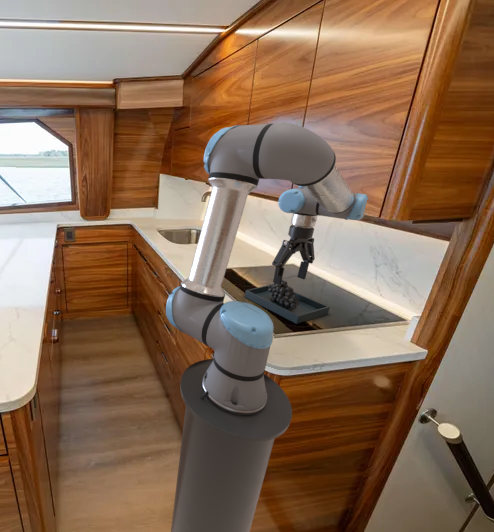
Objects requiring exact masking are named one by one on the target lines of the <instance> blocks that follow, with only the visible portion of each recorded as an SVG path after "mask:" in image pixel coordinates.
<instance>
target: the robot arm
mask: <svg viewBox="0 0 494 532" xmlns="http://www.w3.org/2000/svg"><path fill="white" fill-rule="evenodd" d="M203 153H204V154H203V163H204V164H203V168H204V170H205V172H206V174H207V175H208V179H207V182H208V183H209V185H210V187H211V191H210V195H209V199H208V203H207V206H206V209H205V214H204V218H203V222H202V226H201V229H200V233H199V237H198V241H197V243H196V248H195V251H194V255H193V260H192V264H191V267H190V271H189V274H188V278H186V279H184V280H182V281H181V283H180V286H179V285H178V286H176V287H175V288H174V289H173V290H172V291H171V293H170V294H169V295H168V297H167V300H166V305H165V314H166V319H167V320H168V322H169V323H170V324H171V326H172V327H174V328H176V329H177V330H178V331H179V332H181V333H183V334H186V335H187V336H189V337H191V338H192V339H195V340H196V341H197V342H199V343H201V344H204V345H205V346H207V347H208V348H210V349H212V350H214V351H213V352H214V353H213V358H212V359H213V361H212V363H211V365H210V366H209V368H208V369H207V371H206V373H205V375H204V377H203V382H202V389H203V392H204V394H203V395H202V396H201V398H202V399H203V398H204V397H207V399H208V400H209V401H210V402H211V403H212V404H213V405H215V406H216V407H218V408H219V409H221V410H223V411H225V412H227V413H230V414H233V415H238V416H253V415H256V414H259V413H260V412H262V411H263V410H264V408H265V406H266V402H267V391H266V388H265V381H264V375H265V370H266V367H267V362H268V359H269V355H270V350H271V346H272V344H273V340H274V337H273V335H274V329H275V327H274V323H273V320H272V318H271V317H270V316H269V315H268V313H267V312H265V311H264V310H263V309H261V308H259V307H258V306H256V305H255V304H252V303H248V302H245V301H243V302H241V301H239V300H230V301H226V302H224V301H225V298H226V292H225V291H224V289H223V287H222V285H223V282H224V279H225V275H226V272H227V268H228V265H229V261H230V258H231V254H232V252H233V247H234V244H235V239H236V237H237V234H238V231H239V227H240V224H241V220H242V216H243V213H244V210H245V206H246V202H247V199H248V195H249V194H250V193H252V192H253V191H254V190H256V189H258V186H259V181H260V179H261V180H281V181H288V182H291V183H292V184H293V185H295V186H298V187H297V188H291V189H287V190H285V191H284V192H283V193H281V194H280V196H279V198H278V203H277V204H278V208H279V209H280V210H281V211H282V212H284V213H286V214H291V215H292V216H291V220H290V226H289V228H288V229H289V230H288V233H287V234H288V236H289V237H290V238H289V239H288V240H287V239H283V240H282V242H281V243H282V244H281V246H280V248H279V250H278V252H277V254H276V255H275V257H274V259H273V261H272V263H271V266H273V267H275V269H274V275H273V280H272V283H273V284H274V283H276V284H279V285H280V284H281V281H282V280H283V277H284V272H285V266H286V264H287V263H288V262H289V260H290V258H291V257H293V255H295V254H296V253H298V252H299V254H300V257H301V260H302V261H300V264H299V268H298V272H297V276H296V277H297V278H298V279H301V280H306V277H307V273H308V269H309V265H310V264H313V263H314V261H315V246H314V242H315V238H314V237H313V235H314V231H315V228H314V227H315V226H316V222H317V221H318V216H319V217H320V216H322V217H328V218H334V219H342V220H345V221H348V220H349V221H360V220H362V219H363V218H364V217H365V215H363V214H364V212H365V207H366V204H367V200H368V197H367V195H368V194H366V193H360V192H353V190H352V189H351V188H350V185H349V184H348V183H347V181H346V180H345V178H344V176H343V175H342V173H341V171H340V170H339V168H338V167H337V165H336V163H337V156H336V152H335V151H334V150H333V148H332V146H331V145H330V144H329V143H328V142H327V141H326V140H325V139H324V138H323V137H322V136H320V135H318V134H317V133H315V132H313V131H312V130H310V129H308V128H306V127H304V126H302V125H299V124H295V123H291V122H286V121H285V122H283V121H282V122H275V123H261V124H257V123H256V124H245V125H244V124H243V125H241V124H238V125H237V124H236V125H232V126H228V127H223V128H220V129H219V130H218V131H217V132H215V133H214V134H213V135H212V136H211V137H210V139H209V141H208V142H207V145H206V147H205V150H204V152H203Z"/></svg>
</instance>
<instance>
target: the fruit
mask: <svg viewBox="0 0 494 532" xmlns="http://www.w3.org/2000/svg"><path fill="white" fill-rule="evenodd" d="M273 284H274V285H273ZM267 285H268V287H269V289H268V291H269V292H271V296H272V300H273V301H277V302H278V303H280V304H282V305H283V304H285V307H286V308H287V309H288V308H290V309H292V310H293V309H295V308H297V306H298V305H299V302H298V301H299V299H298V298H297V297H295V293H294V292H295V291H294V288H293V287H291V286H289V285H288V281H287V280H284V279H282V281H281V284H280V285H279V284H276V283H274V282H273V283H270V284H267Z"/></svg>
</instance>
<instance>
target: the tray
mask: <svg viewBox="0 0 494 532" xmlns="http://www.w3.org/2000/svg"><path fill="white" fill-rule="evenodd" d="M272 284H273V285H274V283H272ZM268 285H269V284H267V285H262V286H258V287H254V288H250V289H246V290H245V293H244V298H246V299H248V300H250V301H251V302H254V303H255V304H258V305H260V306H261V307H263V308H265V309H266V310H269V311H271V312H273V313H275V314H276V315H279V316H281V317H282V318H284V319H286V320H288V321H290V322H292V323H294V324H296V325H297V324H301V323H304V322H308V321H311V320H313V319H317V318H320V317H323V316H327V315H328V314H329V312H330V307H331V306H328V305H326V304H324V303H321V302H320V301H317V300H315V299H312V298H310V297H308V296H305V295H303V294H301V293H299V292H296V291H294V293H295V297H297V298H298V299H299V301H298V302H299V305H298V306H297V308H295V309H293V310H292V309H290V308H288V309H287V308H286V307H285V304H283V305H282V304H280V303H278V302H277V301H273V300H272V296H271V292H269V291H268V289H269V287H268Z"/></svg>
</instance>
